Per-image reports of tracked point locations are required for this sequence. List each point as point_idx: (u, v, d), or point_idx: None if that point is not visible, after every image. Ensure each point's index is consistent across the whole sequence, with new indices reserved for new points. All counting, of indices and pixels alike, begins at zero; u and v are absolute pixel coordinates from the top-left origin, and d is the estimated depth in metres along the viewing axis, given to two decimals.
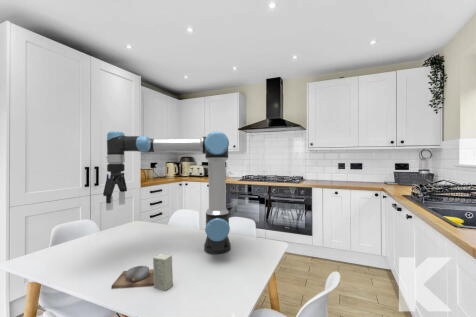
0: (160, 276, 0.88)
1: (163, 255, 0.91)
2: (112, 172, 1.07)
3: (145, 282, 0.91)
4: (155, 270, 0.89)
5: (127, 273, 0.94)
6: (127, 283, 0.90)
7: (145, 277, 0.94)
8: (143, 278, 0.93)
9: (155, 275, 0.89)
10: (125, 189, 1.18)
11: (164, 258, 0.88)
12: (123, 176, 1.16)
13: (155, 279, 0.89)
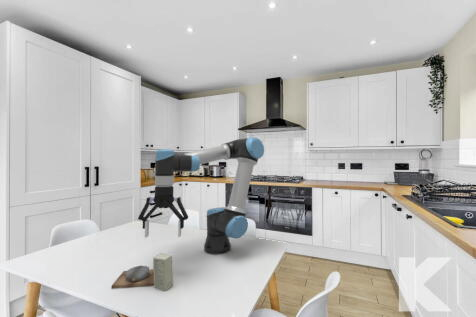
0: (160, 276, 0.88)
1: (163, 255, 0.91)
2: None
3: (145, 282, 0.91)
4: (155, 270, 0.89)
5: (127, 273, 0.94)
6: (127, 283, 0.90)
7: (145, 277, 0.94)
8: (143, 278, 0.93)
9: (155, 275, 0.89)
10: (182, 219, 0.95)
11: (164, 258, 0.88)
12: (177, 202, 0.95)
13: (155, 279, 0.89)
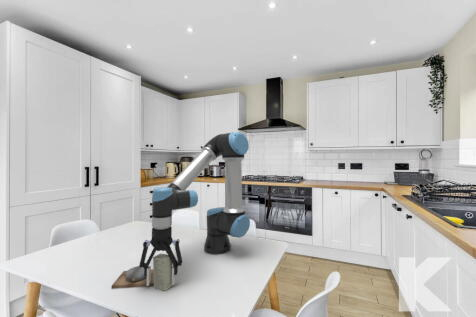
0: (160, 276, 0.88)
1: (163, 255, 0.91)
2: None
3: (145, 282, 0.91)
4: (155, 270, 0.89)
5: (127, 273, 0.94)
6: (127, 283, 0.90)
7: (145, 277, 0.94)
8: (143, 278, 0.93)
9: (155, 275, 0.89)
10: (176, 265, 0.89)
11: (164, 258, 0.88)
12: (175, 245, 0.90)
13: (155, 279, 0.89)
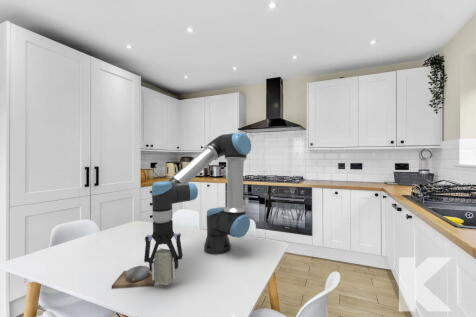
0: (161, 271, 0.88)
1: (164, 250, 0.91)
2: None
3: (145, 282, 0.91)
4: (156, 265, 0.89)
5: (127, 273, 0.94)
6: (127, 283, 0.90)
7: (145, 277, 0.94)
8: (143, 278, 0.93)
9: (156, 270, 0.89)
10: (177, 259, 0.90)
11: (165, 253, 0.88)
12: (176, 239, 0.90)
13: (156, 274, 0.89)
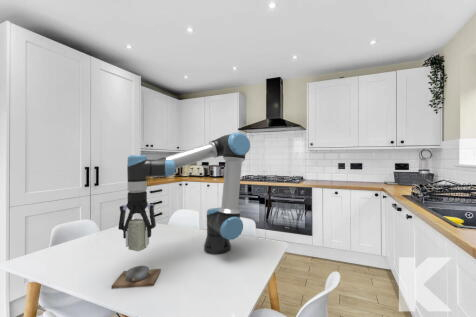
0: (134, 238, 0.94)
1: (138, 219, 0.97)
2: None
3: (145, 282, 0.91)
4: (130, 233, 0.95)
5: (127, 273, 0.94)
6: (127, 283, 0.90)
7: (145, 277, 0.94)
8: (143, 278, 0.93)
9: (129, 238, 0.95)
10: (149, 228, 0.95)
11: (138, 221, 0.94)
12: (149, 209, 0.95)
13: (129, 241, 0.95)
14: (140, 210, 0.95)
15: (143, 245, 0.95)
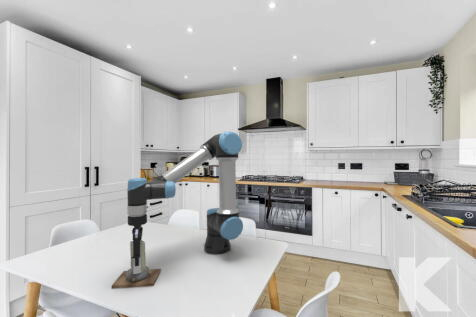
0: None
1: None
2: None
3: (145, 282, 0.91)
4: (131, 254, 0.96)
5: (127, 273, 0.94)
6: (127, 283, 0.90)
7: (145, 277, 0.94)
8: (143, 278, 0.93)
9: None
10: (133, 256, 0.90)
11: None
12: (133, 237, 0.90)
13: (131, 262, 0.96)
14: None
15: (141, 268, 0.94)
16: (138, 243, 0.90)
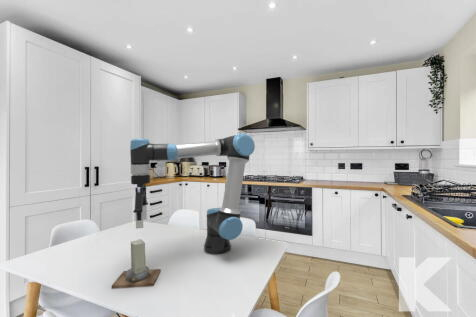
0: (133, 260, 0.94)
1: (139, 241, 0.97)
2: None
3: (145, 282, 0.91)
4: (131, 253, 0.96)
5: (127, 273, 0.94)
6: (127, 283, 0.90)
7: (145, 277, 0.94)
8: (143, 278, 0.93)
9: (131, 258, 0.96)
10: (135, 210, 0.90)
11: (136, 244, 0.94)
12: (136, 192, 0.92)
13: (131, 262, 0.96)
14: None
15: (141, 268, 0.94)
16: (140, 197, 0.91)
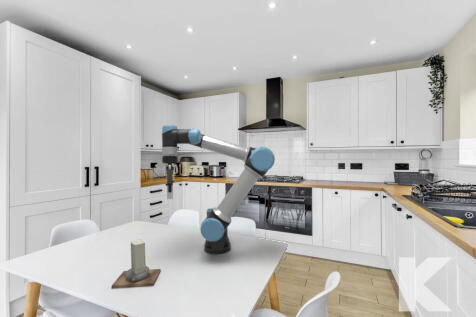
0: (133, 260, 0.94)
1: (139, 241, 0.97)
2: None
3: (145, 282, 0.91)
4: (131, 253, 0.96)
5: (127, 273, 0.94)
6: (127, 283, 0.90)
7: (145, 277, 0.94)
8: (143, 278, 0.93)
9: (131, 258, 0.96)
10: (167, 183, 1.08)
11: (136, 244, 0.94)
12: (167, 169, 1.10)
13: (131, 262, 0.96)
14: (166, 170, 1.14)
15: (141, 268, 0.94)
16: (171, 173, 1.09)
